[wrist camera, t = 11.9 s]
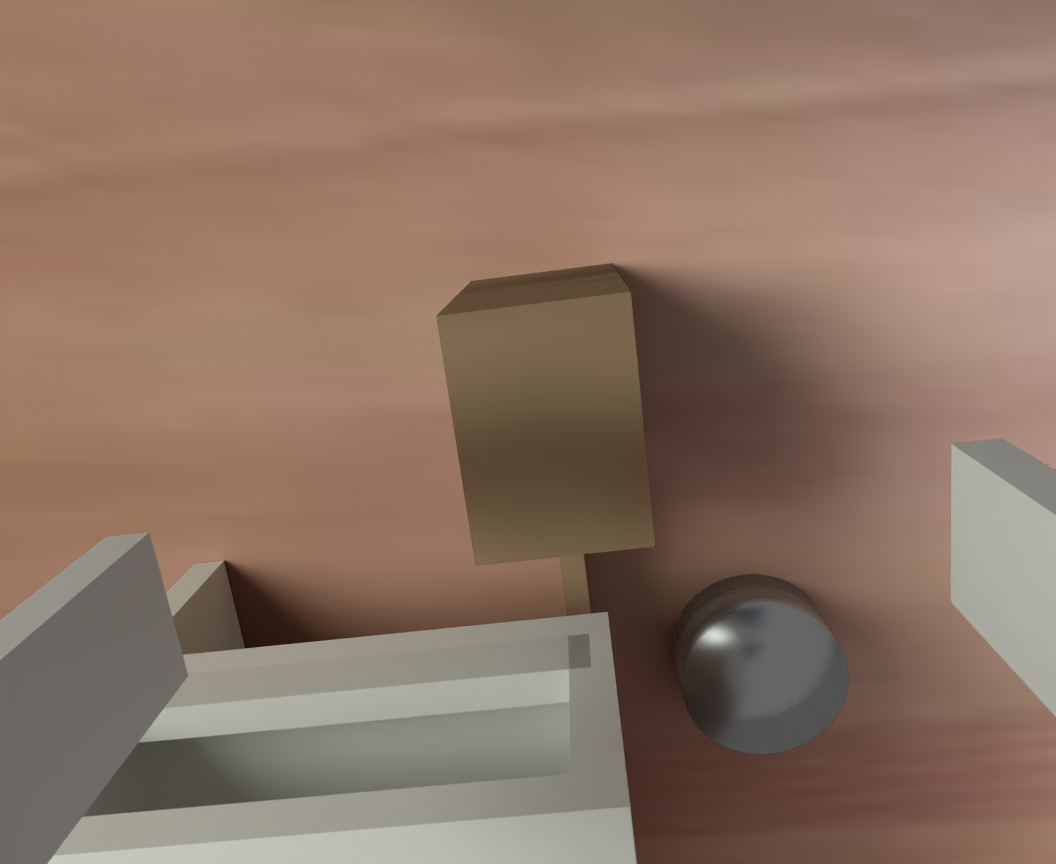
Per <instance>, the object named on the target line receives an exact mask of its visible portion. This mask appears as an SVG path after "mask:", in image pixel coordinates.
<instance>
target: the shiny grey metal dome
mask: <svg viewBox="0 0 1056 864" xmlns="http://www.w3.org/2000/svg"><path fill="white" fill-rule="evenodd" d="M673 655H674V660H675V664H676V669H677V673H678V677H679V681H680V685H681V689H682V693H683V697H684V701H685V704H686V707H687V710H688V712H689V714H690V716H691V718H692V719H693V721H694V722H695V724H696V725H697V726H698V727H699V728H700V729H701V730H702V731H703V732H704V734H706V735H707V736H708V737H709V738H711V739H712V740H714V741H715V742H717V743H719V744H720V745H722V746H725V747H727V748H729V749H732V750H736V751H739V752H744V753H750V754H773V753H779V752H784V751H787V750H791V749H794V748H796V747H799V746H801V745H803V744H805V743H807V742H809V741H810V740H812V739H814V738H815V737H816V736H818V735H819V734H821V733H822V732H823V731H824V730H825V729H826V728H827V727H828V726H829V725H830V724H831V722H832V721H833V720H834V719H835V717H836V716H837V714H838V713H839V711H840V709H841V707H842V705H843V703H844V700H845V697H846V694H847V689H848V667H847V662H846V659H845V656H844V653H843V651H842V649H841V647H840V645H839V644H838V642H837V640H836V639H835V637H834V635H833V634H832V632H831V631H830V629H829V627H828V626H827V624H826V622H825V621H824V619H823V618H822V616H821V614H820V613H819V611H818V609H817V608H816V606H815V605H814V604H813V602H812V601H811V600H810V599H809V598H808V596H807V595H806V594H805V593H803V592H802V591H801V590H800V589H798V588H797V587H795V586H794V585H792V584H790V583H788V582H786V581H784V580H781V579H778V578H775V577H771V576H766V575H754V574H749V575H739V576H734V577H730V578H727V579H723V580H721V581H718V582H716V583H714V584H712V585H710V586H709V587H707V588H705V589H704V590H702V591H701V592H700V593H699V594H697V595H696V596H695V597H694V598H693V599H692V600H691V601H690V602H689V603H688V605H687V606H686V607H685V609H684V610H683V612H682V614H681V615H680V617H679V619H678V622H677V624H676V627H675V631H674V635H673Z"/></svg>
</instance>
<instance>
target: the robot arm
mask: <svg viewBox="0 0 1056 864" xmlns="http://www.w3.org/2000/svg"><path fill="white" fill-rule="evenodd" d="M951 603H952V604H953V605H954V606H955V607H956V608H957V609H958V610H959V612H960V613H961V614H962V615H963V616H964V617H965V618H966V619H967V620H968V621H969V622H970V624H971V625H972V626H973V627H974V628H975V629H976V630H977V631H978V632H979V633H980V635H981V636H982V637H983V638H984V639H985V640H986V641H987V642H988V643H989V644H990V645H991V647H992V648H993V649H994V650H995V651H996V652H997V653H998V654H999V655H1000V656H1001V657H1002V659H1003V660H1004V661H1005V662H1006V663H1007V664H1008V665H1009V666H1010V667H1011V668H1012V670H1013V671H1014V672H1015V673H1016V674H1017V675H1018V676H1019V677H1020V678H1021V679H1022V680H1023V682H1024V683H1025V684H1026V685H1027V686H1028V687H1029V688H1030V689H1031V690H1032V691H1033V692H1034V694H1035V695H1036V696H1037V697H1038V698H1039V699H1040V700H1041V701H1042V702H1043V703H1044V704H1045V706H1046V707H1047V708H1048V709H1049V710H1050V711H1051V712H1052V713H1053V714H1054V715H1055V717H1056V470H1054V469H1053V468H1051V467H1049V466H1047V465H1046V464H1044V463H1042V462H1041V461H1039V460H1037V459H1036V458H1034V457H1032V456H1031V455H1029V454H1027V453H1026V452H1024V451H1022V450H1020V449H1019V448H1017V447H1015V446H1014V445H1012V444H1010V443H1009V442H1007V441H1005V440H1004V439H1002V438H1001V439H992V440H983V441H974V442H965V443H955V444H951ZM187 677H188V672H187V669H186V665H185V661H184V658H183V654H182V650H181V647H180V643H179V639H178V636H177V632H176V628H175V625H174V621H173V617H172V614H171V610H170V606H169V603H168V599H167V595H166V592H165V588H164V584H163V581H162V577H161V573H160V570H159V566H158V562H157V559H156V555H155V551H154V548H153V544H152V540H151V537H150V533H149V532H147V533H138V534H129V535H120V536H111V537H105V538H104V539H103V540H101V541H100V542H99V543H98V544H96V545H95V546H94V547H93V548H91V549H90V550H89V551H87V552H86V553H85V554H84V555H82V556H81V557H80V558H79V559H77V560H76V561H75V562H73V563H72V564H71V565H70V566H68V567H67V568H66V569H65V570H63V571H62V572H61V573H59V574H58V575H57V576H56V577H54V578H53V579H52V580H51V581H49V582H48V583H47V584H45V585H44V586H43V587H42V588H40V589H39V590H38V591H37V592H35V593H34V594H33V595H31V596H30V597H29V598H28V599H26V600H25V601H24V602H23V603H21V604H20V605H19V606H18V607H16V608H15V609H14V610H12V611H11V612H10V613H9V614H7V615H6V616H5V617H4V618H2V619H1V620H0V864H47V863H48V862H49V861H50V859H51V858H52V857H53V855H54V854H55V853H56V851H57V850H58V849H59V847H60V846H61V845H62V843H63V842H64V841H65V839H66V838H67V837H68V835H69V834H70V833H71V831H72V830H73V829H74V827H75V826H76V825H77V823H78V822H79V821H80V819H81V818H82V817H83V815H84V814H85V813H86V811H87V810H88V809H89V807H90V806H91V805H92V803H93V802H94V801H95V799H96V798H97V797H98V795H99V794H100V793H101V791H102V790H103V789H104V787H105V786H106V785H107V784H108V782H109V781H110V780H111V778H112V777H113V776H114V774H115V773H116V772H117V770H118V769H119V768H120V766H121V765H122V764H123V762H124V761H125V760H126V758H127V757H128V756H129V754H130V753H131V752H132V750H133V749H134V748H135V746H136V745H137V744H138V742H139V741H140V740H141V738H142V737H143V736H144V734H145V733H146V732H147V730H148V729H149V728H150V726H151V725H152V724H153V722H154V721H155V720H156V718H157V717H158V716H159V714H160V713H161V712H162V710H163V709H164V708H165V706H166V705H167V704H168V702H169V701H170V700H171V698H172V697H173V696H174V694H175V693H176V692H177V690H178V689H179V688H180V686H181V685H182V684H183V682H184V681H185V680H186V678H187Z"/></svg>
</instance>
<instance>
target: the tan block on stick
mask: <svg viewBox="0 0 1056 864" xmlns="http://www.w3.org/2000/svg"><path fill="white" fill-rule="evenodd" d="M437 323H438V329H439V335H440V342H441V348H442V355H443V361H444V367H445V374H446V380H447V386H448V393H449V399H450V406H451V412H452V418H453V425H454V431H455V437H456V444H457V450H458V457H459V463H460V469H461V476H462V482H463V488H464V495H465V501H466V508H467V514H468V520H469V527H470V533H471V539H472V546H473V552H474V559H475V565H485V564H494V563H504V562H513V561H523V560H532V559H542V558H552V557H560V558H561V566H562V574H563V581H564V589H565V597H566V605H567V613H568V616H572V615H582V614H592V613H593V612H592V603H591V595H590V587H589V578H588V570H587V562H586V554H590V553H599V552H609V551H618V550H628V549H638V548H647V547H655V536H654V526H653V516H652V505H651V495H650V485H649V475H648V464H647V454H646V444H645V433H644V423H643V413H642V402H641V392H640V382H639V371H638V361H637V351H636V340H635V330H634V320H633V309H632V299H631V291H630V290H629V288H628V287H627V286H626V284H625V283H624V281H623V280H622V279H621V277H620V276H619V274H618V273H617V272H616V270H615V269H614V267H613V266H612V265H611V263H610V264H602V265H595V266H587V267H579V268H571V269H563V270H555V271H548V272H540V273H532V274H524V275H516V276H508V277H500V278H493V279H485V280H477V281H471V282H470V283H469V284H468V285H467V286H466V287H465V288H464V289H463V290H462V291H461V292H460V293H459V294H458V295H457V296H456V297H455V298H454V299H453V300H452V301H451V302H450V303H449V304H448V305H447V306H446V307H445V308H444V309H443V310H442V311H441V312H440V313H439V314H438V315H437Z"/></svg>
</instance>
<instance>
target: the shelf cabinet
mask: <svg viewBox="0 0 1056 864" xmlns="http://www.w3.org/2000/svg"><path fill="white" fill-rule="evenodd" d="M166 595H167V599H168V603H169V606H170V610H171V614H172V617H173V621H174V625H175V628H176V632H177V636H178V639H179V643H180V647H181V650H182V654H183V658H184V661H185V665H186V669H187V672H188V677H187V678H186V680H185V681H184V682H183V684H182V685H181V686H180V688H179V689H178V690H177V692H176V693H175V694H174V696H173V697H172V698H171V700H170V701H169V702H168V704H167V705H166V706H165V708H164V709H163V710H162V712H161V713H160V714H159V716H158V717H157V718H156V720H155V721H154V722H153V724H152V725H151V726H150V728H149V729H148V730H147V732H146V733H145V734H144V736H143V737H142V738H141V740H140V741H139V742H138V744H137V745H136V746H135V748H134V749H133V750H132V752H131V753H130V754H129V756H128V757H127V758H126V760H125V761H124V762H123V764H122V765H121V766H120V768H119V769H118V770H117V772H116V773H115V774H114V776H113V777H112V778H111V780H110V781H109V782H108V784H107V785H106V786H105V787H104V789H103V790H102V791H101V793H100V794H99V795H98V797H97V798H96V799H95V801H94V802H93V803H92V805H91V806H90V807H89V809H88V810H87V811H86V813H85V814H84V815H83V817H82V818H81V819H80V821H79V822H78V823H77V825H76V826H75V827H74V829H73V830H72V831H71V833H70V834H69V835H68V837H67V838H66V839H65V841H64V842H63V843H62V845H61V846H60V847H59V849H58V850H57V851H56V853H55V854H54V855H53V857H52V858H51V859H50V861H49V862H48V863H47V864H637V858H636V849H635V841H634V832H633V824H632V815H631V806H630V798H629V789H628V781H627V772H626V764H625V755H624V747H623V738H622V729H621V721H620V712H619V704H618V695H617V687H616V678H615V670H614V661H613V652H612V644H611V635H610V627H609V618H608V612H602V613H592V614H582V615H572V616H562V617H552V618H542V619H533V620H523V621H513V622H503V623H493V624H483V625H473V626H463V627H453V628H444V629H434V630H424V631H414V632H404V633H394V634H384V635H374V636H364V637H355V638H345V639H335V640H325V641H315V642H305V643H295V644H285V645H275V646H266V647H256V648H246V649H245V646H244V642H243V638H242V633H241V629H240V625H239V621H238V617H237V613H236V609H235V604H234V600H233V596H232V592H231V588H230V584H229V580H228V575H227V571H226V567H225V563H224V561H216V562H207V563H198V564H194V565H193V566H192V567H191V568H190V569H189V570H188V571H187V572H186V573H185V574H184V575H183V576H182V577H181V578H180V579H179V580H178V581H177V582H176V583H175V584H174V585H173V586H172V587H171V588H170V589H169V590H168V591H167V592H166Z"/></svg>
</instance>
